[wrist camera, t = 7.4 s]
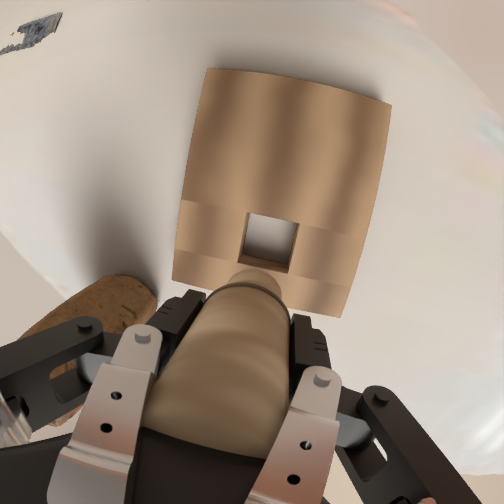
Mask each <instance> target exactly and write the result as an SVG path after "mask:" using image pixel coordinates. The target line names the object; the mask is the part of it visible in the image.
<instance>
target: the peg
mask: <svg viewBox="0 0 504 504" xmlns="http://www.w3.org/2000/svg"><path fill="white" fill-rule="evenodd" d="M290 330H291V320H290V315H289V312H288V310H287V308H286V306H285V304H284V303H283V301H282V293H281V289H280V286H279V284H278V282H277V281H276V280H275V279H274V278H273V277H272V276H271V275H270V274H268V273H266V272H264V271H262V270H258V269H246V270H242V271H239V272H238V273H236V274H234V275H233V276H232V277H231V278H230V279H229V281H228V282H227V284H226V285H224V286H222V287H220V288H218V289H216V290H215V291H213V292H212V293H211V294H210V295H209V296H208V298H207V299H206V300H205V302H204V303H203V305H202V307H201V310H200V312H199V314H198V315H197V317H196V318H195V320H194V322H193V323H192V325H191V326H190V328H189V329H188V331H187V333H186V334H185V336H184V337H183V339H182V341H181V342H180V344H179V345H178V347H177V349H176V350H175V352H174V354H173V355H172V357H171V358H170V360H169V362H168V363H167V365H166V366H165V368H164V370H163V371H162V373H161V375H160V376H159V378H158V379H157V381H156V383H155V384H154V386H153V389H152V391H151V394H150V397H149V400H148V403H147V407H146V410H145V414H144V427H147V428H150V429H152V430H155V431H158V432H160V433H163V434H166V435H169V436H172V437H175V438H178V439H181V440H185V441H188V442H191V443H195V444H198V445H202V446H206V447H210V448H213V449H218V450H222V451H226V452H231V453H235V454H240V455H245V456H251V457H256V458H262V459H267V457H268V455H269V453H270V451H271V449H272V447H273V444H274V442H275V440H276V438H277V435H278V433H279V431H280V429H281V426H282V424H283V421H284V419H285V417H286V414H287V412H288V407H289V361H290Z"/></svg>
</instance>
